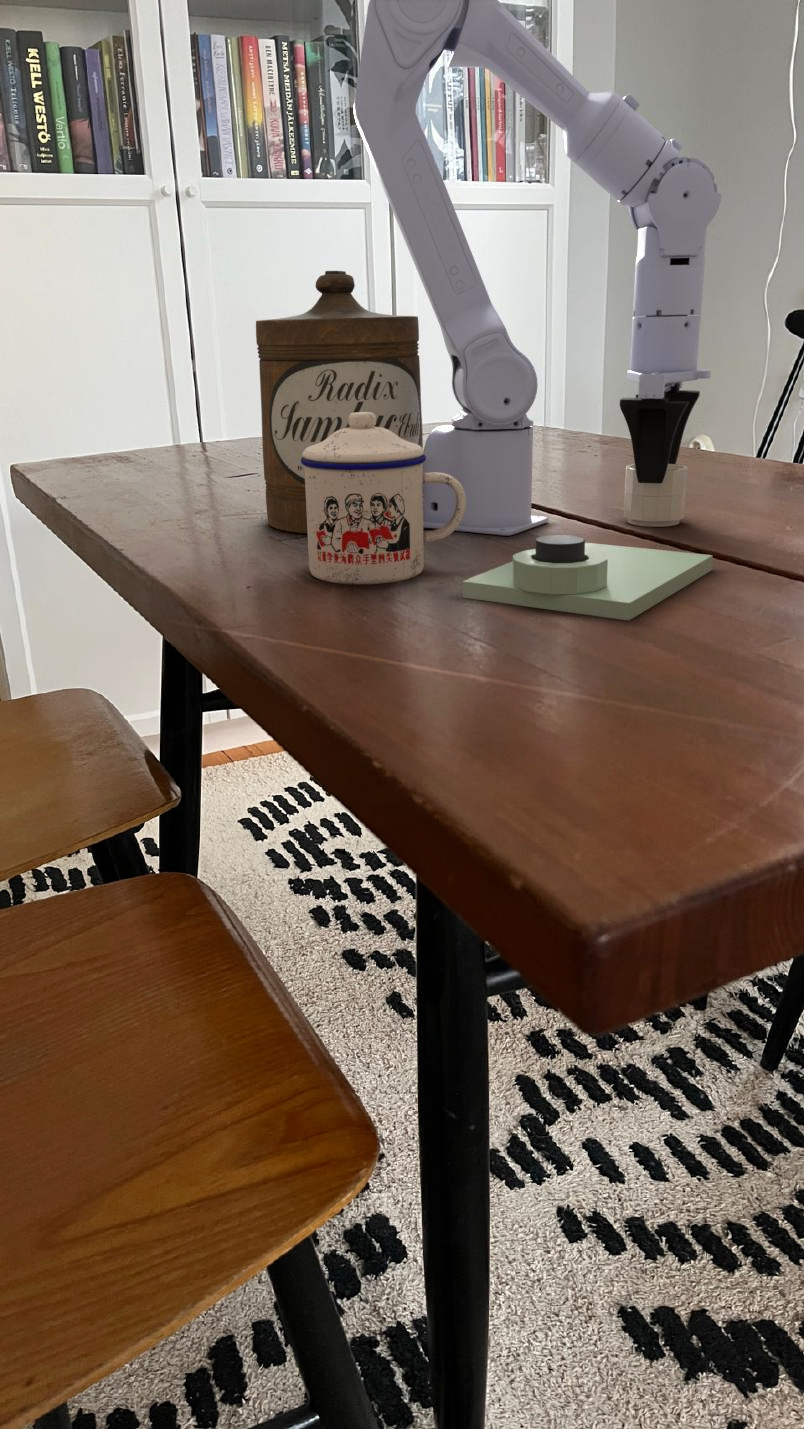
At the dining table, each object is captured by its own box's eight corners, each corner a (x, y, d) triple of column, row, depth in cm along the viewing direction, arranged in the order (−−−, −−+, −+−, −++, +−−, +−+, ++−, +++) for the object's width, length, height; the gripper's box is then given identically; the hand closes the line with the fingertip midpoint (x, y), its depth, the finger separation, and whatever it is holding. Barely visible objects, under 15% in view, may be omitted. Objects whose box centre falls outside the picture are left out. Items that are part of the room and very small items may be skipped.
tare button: (571, 569, 68) (572, 545, 67) (526, 564, 69) (527, 541, 69) (592, 560, 70) (593, 537, 70) (548, 555, 72) (549, 533, 71)
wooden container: (278, 540, 92) (262, 267, 84) (258, 513, 106) (242, 275, 98) (442, 529, 95) (440, 265, 88) (402, 504, 109) (397, 273, 101)
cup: (613, 524, 96) (616, 468, 95) (636, 515, 101) (639, 461, 99) (671, 529, 93) (675, 472, 92) (692, 519, 98) (696, 464, 96)
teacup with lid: (302, 588, 75) (293, 419, 71) (310, 561, 84) (303, 409, 80) (469, 584, 75) (470, 416, 71) (461, 558, 84) (461, 406, 80)
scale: (625, 623, 65) (628, 576, 64) (458, 600, 71) (458, 556, 70) (711, 571, 78) (715, 530, 77) (563, 555, 84) (564, 517, 83)
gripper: (706, 315, 83) (693, 490, 88) (721, 315, 96) (709, 467, 101) (616, 317, 85) (608, 487, 90) (642, 316, 98) (634, 465, 103)
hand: (656, 476), depth 96 cm, fingers open, 7 cm apart
